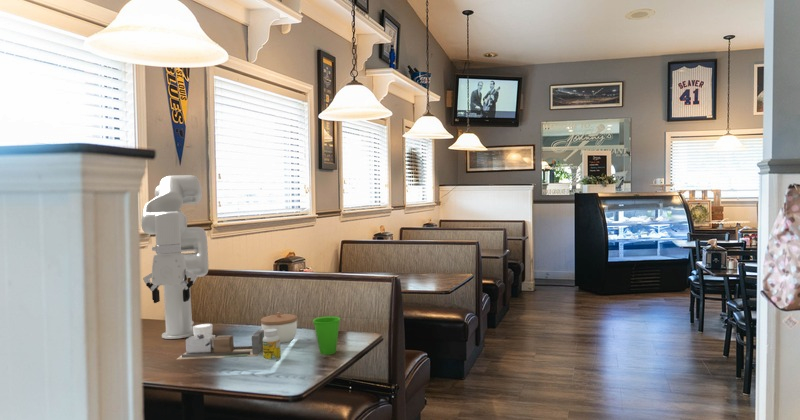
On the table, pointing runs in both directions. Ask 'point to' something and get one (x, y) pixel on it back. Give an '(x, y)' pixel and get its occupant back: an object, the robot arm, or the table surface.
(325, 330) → the cup
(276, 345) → the supplement bottle
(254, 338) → the gauge bed
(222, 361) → the table surface
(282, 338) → the lidded bowl
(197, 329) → the shot glass
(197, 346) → the knobbed grey slider
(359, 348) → the table surface
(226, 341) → the walnut block
